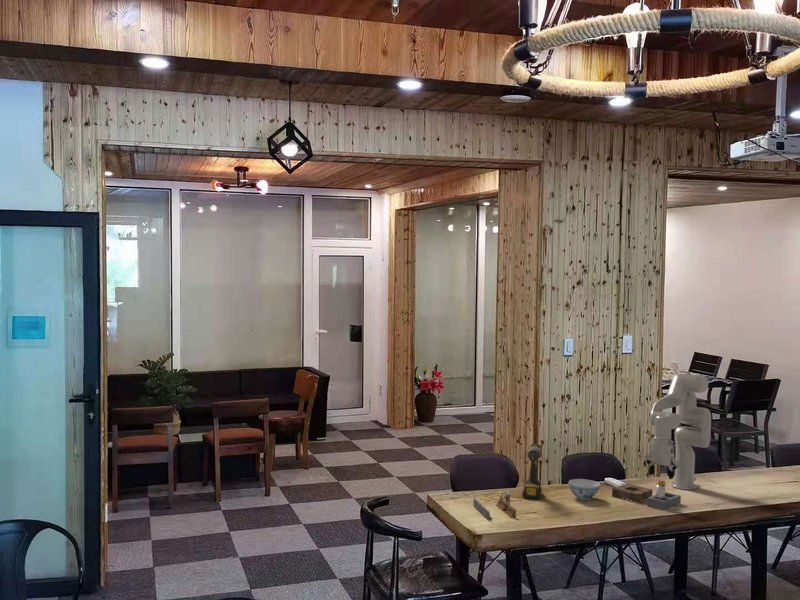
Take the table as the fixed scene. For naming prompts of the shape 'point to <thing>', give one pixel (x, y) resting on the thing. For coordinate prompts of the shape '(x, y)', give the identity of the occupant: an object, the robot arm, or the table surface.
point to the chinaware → (584, 488)
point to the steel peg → (660, 490)
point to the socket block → (631, 492)
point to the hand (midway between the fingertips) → (661, 476)
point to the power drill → (533, 474)
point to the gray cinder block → (664, 501)
